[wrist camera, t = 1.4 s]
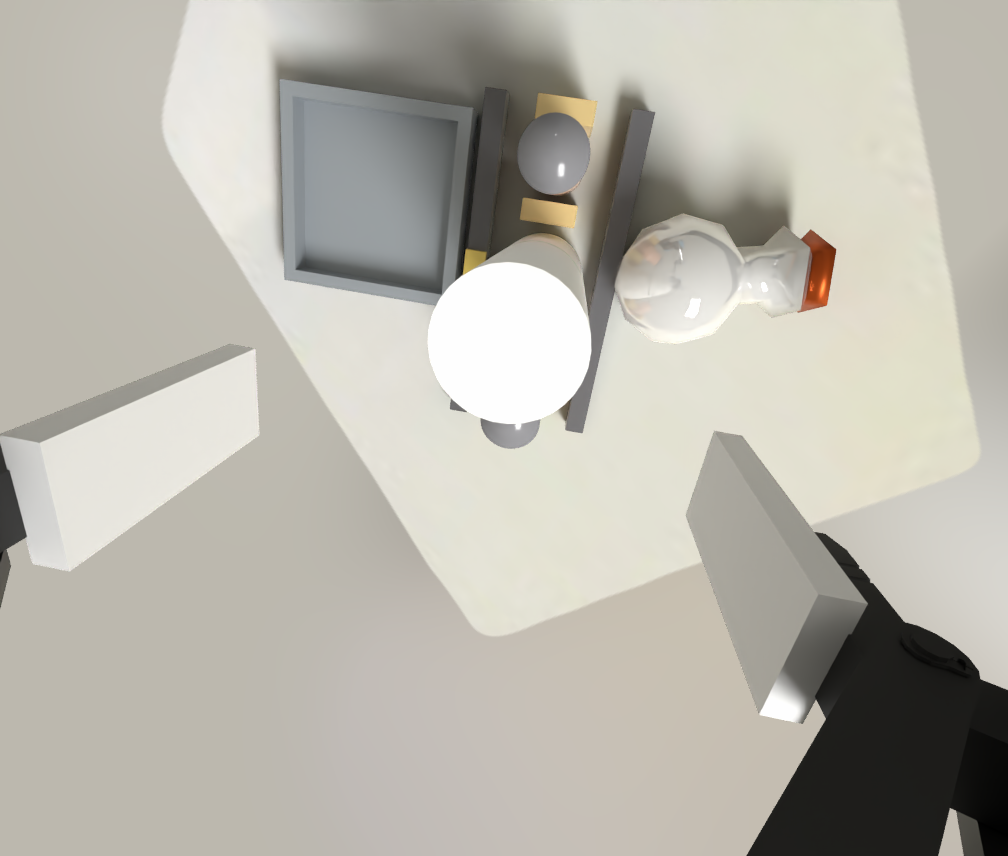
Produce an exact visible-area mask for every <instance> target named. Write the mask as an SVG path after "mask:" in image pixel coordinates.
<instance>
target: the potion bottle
mask: <svg viewBox="0 0 1008 856" xmlns="http://www.w3.org/2000/svg"><path fill="white" fill-rule="evenodd" d="M835 255H836V249H835V248H834V247H833V246H831V245H830V244H829V243H827V242H826V241H825V240H824V239H822V238H821V237H820V236H819V235H817V234H816V233H815V232H814V231H812V230H810V231H809V232H808V233H807V234H806V235H805V236H804V237H803V238H802V239H799V238H798V237H797V236H796V235H795V234H793V233H792V232H791V231H790V230H789V229H788V228H786V227H785V226H783V227H782V228H780V229H779V230H778V231H777V232H776V233H775V234H774V235H773V236H772V237H771V238H770V239H769V240H768V241H767V242H766V243H765V244H764V245H761V246H746V247H736V246H735V244H734V242H733V240H732V239H731V237H730V235H729V234H728V232H727V230H726V229H725V227H724V225H722V224H718V223H715V222H711V221H708V220H704V219H701V218H697V217H694V216H690V215H687V214H683V213H682V214H679V215H677V216H674V217H672V218H669V219H666V220H664V221H661V222H659V223H656V224H654V225H651V226H648V227H646V228H643V229H642V230H641V232H640V233H639V234H638V236H637V237H636V239H635V240H634V242H633V243H632V245H631V246H630V247H629V249H628V250H627V252H626V253H625V255H624V256H623V257H622V259H621V260H620V262H619V265H618V270H617V275H616V281H615V286H614V287H615V291H616V294H617V298H618V302H619V304H620V307H621V310H622V312H623V315H624V317H625V320H627V321H628V322H629V323H630V324H631V325H632V326H633V327H634V328H636V329H637V330H638V331H639V332H640V333H642V334H643V335H644V336H646V337H647V338H648V339H650V340H651V341H654V342H661V343H668V344H678V343H682V342H686V341H690V340H694V339H698V338H702V337H706V336H710V335H713V334H714V333H715V332H716V331H717V330H718V328H719V327H720V326H721V325H722V323H723V322H724V321H725V320H726V318H727V317H728V316H729V315H730V313H731V312H732V311H733V310H734V308H735V307H736V306H737V305H744V304H757V305H758V306H759V307H760V308H762V309H763V310H764V311H765V312H766V313H767V314H768V315H769V316H770V317H771V318H773V317H777V316H781V315H785V314H789V313H793V312H796V311H797V312H798V313H799V312H803V311H807V310H811V309H815V308H819V307H823V306H827V302H828V296H829V290H830V284H831V278H832V272H833V266H834V260H835Z"/></svg>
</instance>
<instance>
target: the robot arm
mask: <svg viewBox="0 0 1008 856" xmlns="http://www.w3.org/2000/svg"><path fill="white" fill-rule="evenodd" d="M257 436H259V418H258V395H257V374H256V354H255V348H250V347H244V346H239V345H233V344H229V345H226V346H223V347H221V348H219V349H216V350H213V351H211V352H208V353H206V354H203V355H201V356H198V357H195V358H193V359H190V360H188V361H185V362H183V363H180V364H177V365H175V366H173V367H170V368H167V369H165V370H162V371H160V372H157V373H155V374H152V375H150V376H147V377H144V378H142V379H139V380H137V381H134V382H132V383H129V384H126V385H124V386H121V387H119V388H116V389H114V390H111V391H109V392H106V393H103V394H101V395H98V396H96V397H93V398H91V399H88V400H86V401H83V402H81V403H78V404H76V405H73V406H70V407H68V408H65V409H63V410H60V411H58V412H55V413H53V414H50V415H47V416H45V417H42V418H40V419H37V420H35V421H32V422H30V423H27V424H24V425H22V426H20V427H17V428H14V429H12V430H9V431H7V432H4V433H2V434H0V607H1V603H2V599H3V595H4V591H5V587H6V583H7V579H8V575H9V571H10V567H11V565H10V560H9V557H8V553H7V550H6V549H7V548H9V547H11V546H12V545H14V544H16V543H17V542H19V541H21V540H22V539H24V538H26V542H27V545H28V549H29V553H30V557H31V560H32V564H36V565H41V566H46V567H50V568H56V569H61V570H65V571H71V570H72V569H74V568H75V567H76V566H78V565H79V564H80V563H82V562H83V561H85V560H86V559H88V558H89V557H90V556H92V555H93V554H95V553H96V552H97V551H99V550H100V549H102V548H103V547H104V546H106V545H107V544H108V543H110V542H111V541H113V540H114V539H115V538H117V537H118V536H119V535H121V534H122V533H124V532H125V531H126V530H128V529H129V528H131V527H132V526H134V525H135V524H136V523H138V522H139V521H140V520H142V519H143V518H145V517H146V516H147V515H149V514H150V513H152V512H153V511H154V510H155V509H157V508H159V507H160V506H161V505H163V504H164V503H165V502H167V501H168V500H169V499H171V498H172V497H174V496H175V495H176V494H178V493H179V492H181V491H182V490H183V489H185V488H186V487H188V486H189V485H191V484H192V483H193V482H195V481H196V480H197V479H199V478H200V477H202V476H203V475H204V474H206V473H207V472H209V471H210V470H211V469H213V468H214V467H216V466H217V465H218V464H220V463H221V462H222V461H224V460H225V459H227V458H228V457H229V456H231V455H232V454H234V453H235V452H236V451H238V450H239V449H241V448H242V447H243V446H245V445H246V444H247V443H249V442H250V441H252V440H253V439H254V438H256V437H257ZM686 518H687V520H688V523H689V526H690V529H691V531H692V534H693V537H694V539H695V542H696V545H697V548H698V550H699V553H700V556H701V558H702V561H703V564H704V567H705V569H706V572H707V575H708V577H709V580H710V583H711V585H712V588H713V591H714V593H715V596H716V599H717V602H718V605H719V607H720V610H721V613H722V615H723V618H724V621H725V623H726V626H727V629H728V632H729V634H730V637H731V640H732V642H733V645H734V648H735V651H736V653H737V656H738V659H739V661H740V664H741V667H742V669H743V672H744V675H745V678H746V680H747V683H748V686H749V689H750V691H751V694H752V697H753V699H754V702H755V705H756V708H757V710H758V713H759V715H763V716H768V717H772V718H777V719H782V720H787V721H792V722H796V723H801V724H803V722H804V720H805V719H806V716H807V715H808V713H809V711H810V709H811V708H812V706H813V704H814V702H815V700H817V702H818V704H819V706H820V708H821V710H822V712H823V714H824V716H825V718H826V720H825V722H824V724H823V725H822V727H821V729H820V731H819V732H818V734H817V736H816V737H815V739H814V741H813V743H812V744H811V746H810V748H809V749H808V751H807V753H806V755H805V756H804V758H803V760H802V761H801V763H800V765H799V766H798V768H797V770H796V772H795V774H794V775H793V777H792V778H791V780H790V782H789V784H788V785H787V787H786V789H785V791H784V792H783V794H782V796H781V797H780V799H779V801H778V802H777V804H776V806H775V808H774V809H773V811H772V813H771V814H770V816H769V818H768V820H767V821H766V823H765V825H764V826H763V828H762V830H761V832H760V833H759V835H758V837H757V839H756V840H755V842H754V844H753V845H752V847H751V849H750V851H749V852H748V854H747V856H938V854H939V849H940V846H941V842H942V838H943V834H944V830H945V825H946V821H947V817H948V813H949V809H950V808H951V809H954V810H956V812H957V817H958V824H959V829H960V835H961V841H962V847H963V853H964V856H1008V690H1006V689H1003V688H1001V687H998V686H996V685H993V684H991V683H988V682H986V681H983V680H981V679H980V675H979V671H978V669H977V668H976V667H975V665H974V664H973V663H972V661H971V660H970V659H969V658H968V657H967V656H966V655H965V654H964V653H963V652H961V651H960V650H959V649H958V648H957V647H955V646H954V645H953V644H951V643H950V642H948V641H946V640H945V639H943V638H942V637H940V636H938V635H937V634H935V633H933V632H930V631H928V630H926V629H924V628H921V627H919V626H917V625H913V624H909V623H905V622H904V621H903V620H902V619H901V617H900V616H899V615H898V614H897V612H896V611H895V610H894V609H893V608H892V606H891V605H890V604H889V603H888V601H887V600H886V599H885V598H884V596H883V595H882V594H881V593H880V591H879V590H878V589H877V588H876V586H875V585H874V584H873V583H870V579H869V578H868V576H867V575H866V574H865V573H864V571H863V570H862V569H859V565H858V564H857V563H856V561H855V560H854V559H853V558H852V557H851V555H850V554H849V553H848V551H847V550H846V549H844V548H843V547H842V546H840V545H839V544H838V543H837V542H835V541H834V540H833V539H831V538H830V537H828V536H827V535H826V534H823V533H817V532H814V531H813V530H812V528H811V527H810V526H809V524H808V523H807V522H806V520H805V519H804V518H803V516H802V515H801V514H800V512H799V511H798V510H797V508H796V507H795V506H794V504H793V503H792V502H791V500H790V499H789V498H788V496H787V495H786V494H785V492H784V491H783V490H782V488H781V487H780V486H779V484H778V483H777V482H776V480H775V479H774V478H773V476H772V475H771V474H770V472H769V471H768V470H767V468H766V467H765V466H764V464H763V463H762V462H761V460H760V459H759V458H758V456H757V455H756V454H755V452H754V451H753V450H752V448H751V447H750V446H749V444H748V443H747V442H746V440H745V439H744V438H743V436H740V435H734V434H729V433H723V432H718V431H714V433H713V436H712V439H711V442H710V445H709V447H708V450H707V453H706V456H705V459H704V462H703V465H702V468H701V471H700V474H699V477H698V480H697V483H696V486H695V489H694V492H693V495H692V498H691V501H690V504H689V507H688V510H687V513H686Z"/></svg>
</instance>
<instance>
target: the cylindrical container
mask: <svg viewBox="0 0 1008 856" xmlns="http://www.w3.org/2000/svg"><path fill="white" fill-rule="evenodd" d="M428 350H429V357H430V362H431V365H432V368H433V370H434V373H435V376H436V378H437V379H438V381H439V383H440V384H441V386H442V388H443V389H444V390H445V392H446V393H447V394H448V395H449V396H450V397H451V399H452V400H453V401H455V402H456V403H457V404H458V405H459V406H461V407H462V408H463V409H464V410H466V411H468V412H470V413H472V414H473V415H475V416H477V417H480V418H483V419H485V420H488V421H491V422H497V423H504V424H519V423H527V422H531V421H535V420H539V419H541V418H543V417H545V416H548V415H550V414H552V413H554V412H555V411H556V410H558V409H559V408H561V407H562V406H563V405H565V404H566V403H567V402H568V401H569V400H570V398H571V397H572V396H573V395H574V394H575V393H576V391H577V390H578V388H579V387H580V385H581V384H582V382H583V380H584V377H585V375H586V372H587V370H588V367H589V362H590V356H591V332H590V324H589V317H588V310H587V303H586V295H585V288H584V281H583V274H582V267H581V263H580V260H579V258H578V255H577V253H576V252H575V250H574V249H573V248H572V246H571V245H570V244H569V243H567V242H566V241H565V240H563V239H562V238H560V237H558V236H555V235H552V234H548V233H536V234H531V235H528V236H525V237H523V238H522V239H520V240H518V241H516V242H515V243H513V244H512V245H510V246H509V247H507V248H505V249H504V250H502V251H500V252H499V253H497V254H496V255H494V256H493V257H491V258H489V259H488V260H486V261H485V262H483V263H482V264H480V265H478V266H477V267H475V268H474V269H472V270H470V271H469V272H467V273H466V274H464V275H463V276H461V277H460V278H459V279H457V280H456V281H455V282H454V283H453V284H452V285H451V286H449V287H448V289H447V290H446V291H445V293H444V294H443V295H442V296H441V298H440V299H439V301H438V303H437V305H436V307H435V309H434V311H433V313H432V317H431V321H430V325H429V329H428Z"/></svg>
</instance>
